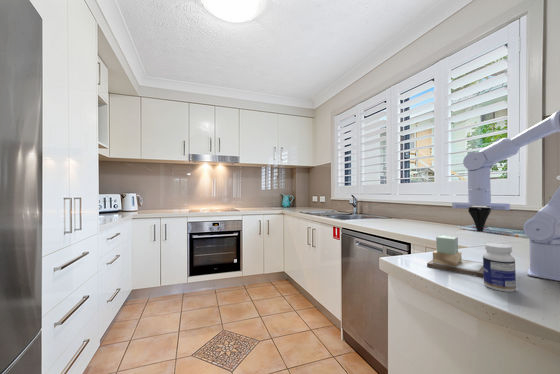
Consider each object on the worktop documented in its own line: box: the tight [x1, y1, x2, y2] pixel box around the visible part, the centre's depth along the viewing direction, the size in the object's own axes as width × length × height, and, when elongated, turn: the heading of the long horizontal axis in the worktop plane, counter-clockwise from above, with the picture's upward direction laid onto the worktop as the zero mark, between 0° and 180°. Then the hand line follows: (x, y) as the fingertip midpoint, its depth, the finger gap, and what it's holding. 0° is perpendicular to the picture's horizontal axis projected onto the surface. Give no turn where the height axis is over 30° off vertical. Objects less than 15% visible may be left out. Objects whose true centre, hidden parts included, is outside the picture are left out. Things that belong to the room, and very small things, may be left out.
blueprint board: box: [426, 249, 484, 278], centre depth 74 cm, size 14×12×4 cm
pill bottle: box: [482, 242, 517, 293], centre depth 58 cm, size 6×6×10 cm
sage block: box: [435, 234, 459, 255], centre depth 75 cm, size 4×4×4 cm
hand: (480, 231), depth 80 cm, fingers closed
